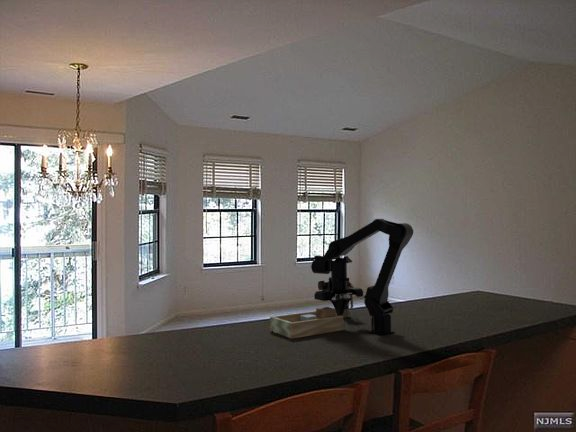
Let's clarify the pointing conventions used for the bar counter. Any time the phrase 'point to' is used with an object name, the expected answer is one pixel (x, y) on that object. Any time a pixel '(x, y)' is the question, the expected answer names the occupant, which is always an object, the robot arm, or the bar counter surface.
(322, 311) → the walnut block
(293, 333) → the box
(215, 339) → the bar counter surface
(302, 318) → the trapped block
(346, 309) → the grenade model
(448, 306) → the bar counter surface
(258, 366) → the bar counter surface
